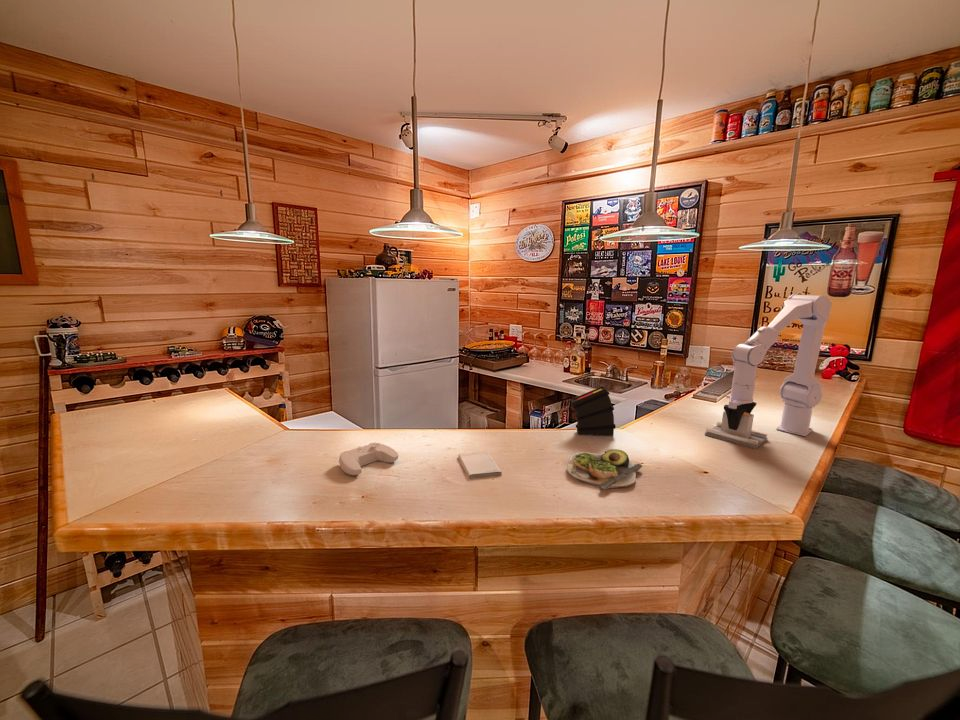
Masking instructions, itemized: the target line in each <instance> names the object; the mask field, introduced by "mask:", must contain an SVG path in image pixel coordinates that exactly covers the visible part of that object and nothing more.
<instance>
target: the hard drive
mask: <svg viewBox="0 0 960 720" xmlns="http://www.w3.org/2000/svg"><path fill="white" fill-rule="evenodd" d="M458 460H459V462H460V464H461V465H462V467H463V468H462V469H464V471H465V474H466V476H467V477H468V479H469V480H470V479H471V480H473V479H480V478H482V479H483V478H491V477H500V476H502V475H503V474H502V473H503V472H502V471H501V469H500V468H499V466H498V465H497V463H496V462H495V461H494V459H493V458H492V456H491V454H490V453H489V452H488V451H479V452H469V453H467V452H466V453H465V452H464V453H460V454H458Z"/></svg>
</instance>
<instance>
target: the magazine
mask: <svg viewBox="0 0 960 720" xmlns="http://www.w3.org/2000/svg"><path fill="white" fill-rule="evenodd" d="M570 401H571V402H570V404H571V406H572V408H573V409H574V411H575V414H574V416H575V418H576V424H575V428H576V432H577V434H578V436H602V437H603V436H604V437H605V436H606V437H607V436H608V437H613V436H614V434H615V433H614V431H615V429H616V428H617V426H616V425H617V424H615V417H614V410H615V407H614V406H613V405H612V400H611V397H610V392H609V390H607V388H606V387H605V386H604V385H602V386H599V387H597V388H594V389H593V390H590V391H587V392H585V393H583V394H581V395H578V396H576V397H573V398H571V399H570Z"/></svg>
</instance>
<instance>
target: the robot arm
mask: <svg viewBox="0 0 960 720" xmlns="http://www.w3.org/2000/svg"><path fill="white" fill-rule="evenodd" d="M782 307H783V308H782V309H781V311H780V312H779V313H778V314H777V315H776V316H775V317H774V319H773V320H772V321H771V322H770V323H769V324H768V325H767V326H761V327H759V328H758V329H757V330H756V331H755V332H754V333H753V334H752V335H751V336H750V337H749V338H748V339H747V340H746V341H745V342H744V343H739V344H738V345H736V346H734V347H733V348H734V349H733V351H732V352H731V354H730V355H731V359H732V362H733V363H732V366H733V367H734V369H733V377H732V383H731V390H730V394H726V397H725V398H727V399H729V402H728V404H724V405H723V410H724V411H725V412H726V415H727V419H728V427H729V429H732V430H737V429H738V426H739V423H740V420H741V417H742V416H743V414H744V413H745V412H746V413H749V414H752V412H753V410H754V408H755V407H756V406H757V402H755V401H754V392H755V385H756V378H757V370H758V367H759V366H758V365H760V364H761V363H763V361H764V359H765V355H766V354H767V353H768V350H769V349H770V348H771V347H772V346H773V345H774V344H775V343H776V342H777V341H778V340H779V333H781V332H782V331H783V330H784V329H785V328H787V327H788V326H789V325H790V324H791V323H793V322H794V321H795V320H798V321H800V323H801V324H802V325H803V326H802V331H801V334H800V335H801V336H800V340H799V341H800V342H799V345H798V349H797V354H796V359H795V363H794V367H793V373H792V374H790V375H788V376H785V377H784V380H783V382H782V384H781V386H780V388H779V396H780V398H781V399H782V402H783V403H784V405H783V410H782V415H781V421H780V424H779V426H777V427H776V428H775V430H778V431H781V432H786V433H789V434H794V435H797V436H803V437H807V436H808V435H809V434H810V433H812V431H813V430H814V428H812V427H810V425H811V420H812V415H813V408H815V407H816V406H817V405H819V404H820V402H821V401H822V396H823V394H822V387H823V384H822V382H820V380H819V379H817V378H816V377H815V372H816V368H817V364H818V359H819V356H820V351H821V346H822V341H823V338H824V337H823V336H824V332H825V329H826V324H827V323H828V322H829V318H830V314H831V309H832V302H831V300H830V299H829V297H828V296H827V295H824V294H823V295H814V294H813V295H810V294H797V293H793V294H791V295H788V297H787V299H786V300H784V301H783V306H782Z"/></svg>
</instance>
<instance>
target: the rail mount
mask: <svg viewBox="0 0 960 720" xmlns="http://www.w3.org/2000/svg"><path fill="white" fill-rule="evenodd" d="M721 425H722V422H719V421H718V422H716V426H714V427H713V428H710V427H706V429H705V432H704V436H707V437H712V438H714V439H715V438H716V439H719V440H722V441H726V442H729V443H733V444H735V445H740V446H744V447H746V448H749V449H750V448H751V449H755V450H756V449H758V447H760V446H761V445H763V444H764V443H765V442H767V441H768V438H769V437H768V433H764V432H760V431H756V430H751V436H750V437H749V438H745V437H741V436H738V435H734V434H730V433H726V432H723V431H721Z"/></svg>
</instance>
